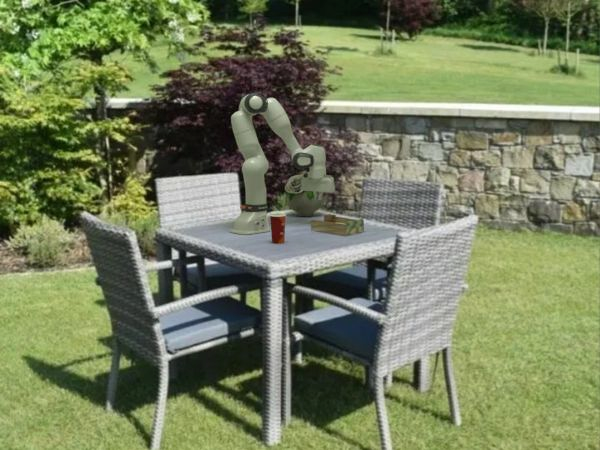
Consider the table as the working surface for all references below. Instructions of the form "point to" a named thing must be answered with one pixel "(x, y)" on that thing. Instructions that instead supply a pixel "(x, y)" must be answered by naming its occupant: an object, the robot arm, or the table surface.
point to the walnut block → (330, 218)
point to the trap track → (339, 226)
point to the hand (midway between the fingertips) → (318, 199)
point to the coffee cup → (278, 226)
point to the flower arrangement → (301, 197)
